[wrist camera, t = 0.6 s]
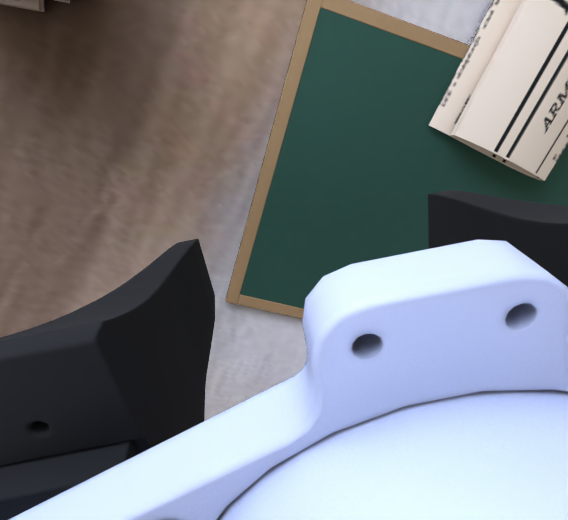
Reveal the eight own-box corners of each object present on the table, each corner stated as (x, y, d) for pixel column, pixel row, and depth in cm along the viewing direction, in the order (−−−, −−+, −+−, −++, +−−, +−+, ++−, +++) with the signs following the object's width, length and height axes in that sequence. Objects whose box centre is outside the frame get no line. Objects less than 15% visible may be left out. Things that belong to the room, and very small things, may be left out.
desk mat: (533, 368, 29) (537, 371, 29) (225, 299, 26) (225, 302, 25) (672, 123, 24) (679, 123, 24) (310, -12, 20) (311, -14, 20)
